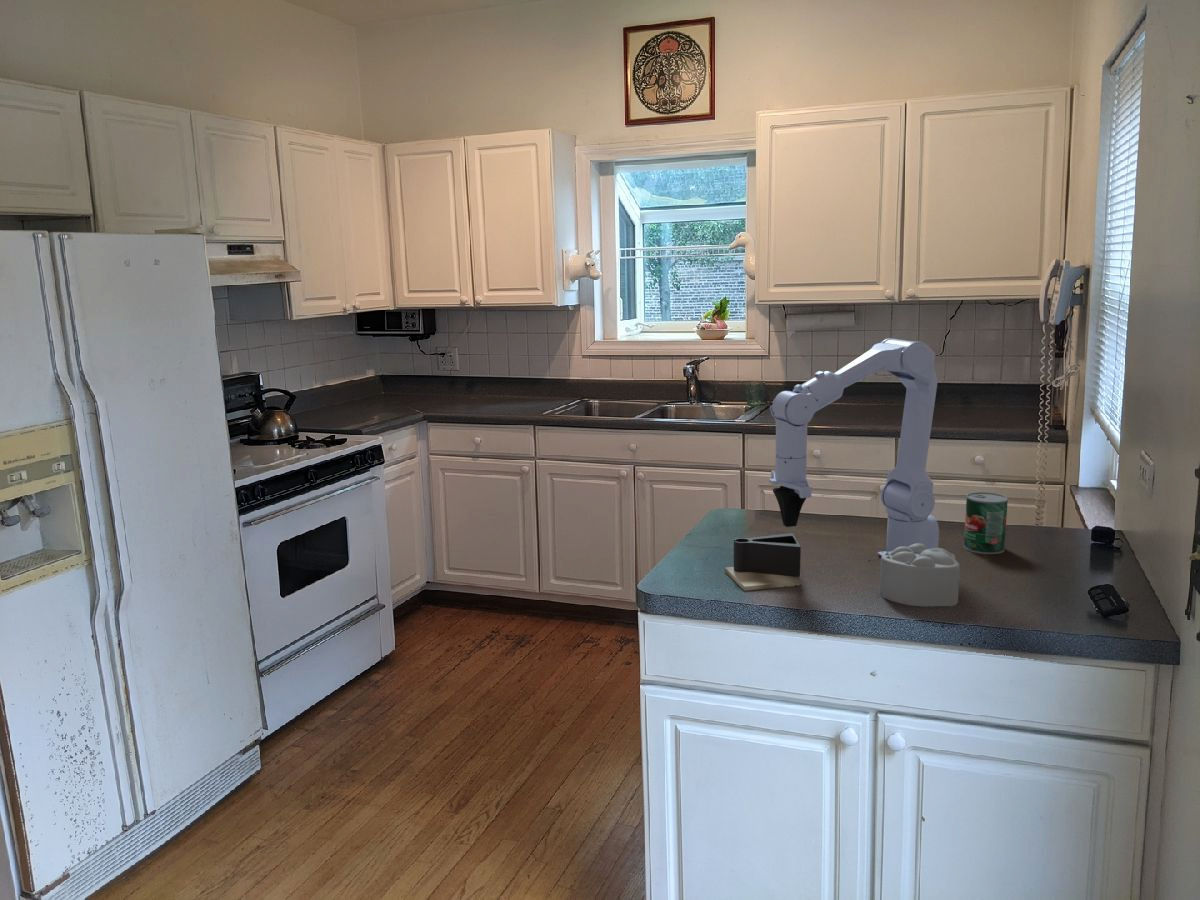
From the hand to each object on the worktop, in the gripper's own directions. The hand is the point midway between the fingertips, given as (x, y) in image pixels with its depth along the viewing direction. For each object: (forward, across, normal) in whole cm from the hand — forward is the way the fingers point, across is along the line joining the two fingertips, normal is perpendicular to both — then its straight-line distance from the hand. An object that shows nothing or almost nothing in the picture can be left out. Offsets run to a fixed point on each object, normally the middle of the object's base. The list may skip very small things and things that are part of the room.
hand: (789, 525), depth 178 cm
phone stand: (+6, -1, +2) cm, 7 cm away
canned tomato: (+10, -5, +45) cm, 46 cm away
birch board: (+10, 0, -6) cm, 11 cm away
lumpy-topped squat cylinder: (+10, +16, +18) cm, 26 cm away
